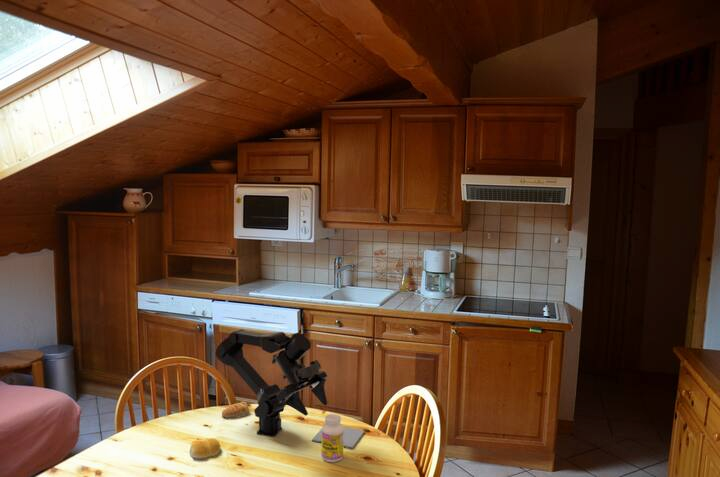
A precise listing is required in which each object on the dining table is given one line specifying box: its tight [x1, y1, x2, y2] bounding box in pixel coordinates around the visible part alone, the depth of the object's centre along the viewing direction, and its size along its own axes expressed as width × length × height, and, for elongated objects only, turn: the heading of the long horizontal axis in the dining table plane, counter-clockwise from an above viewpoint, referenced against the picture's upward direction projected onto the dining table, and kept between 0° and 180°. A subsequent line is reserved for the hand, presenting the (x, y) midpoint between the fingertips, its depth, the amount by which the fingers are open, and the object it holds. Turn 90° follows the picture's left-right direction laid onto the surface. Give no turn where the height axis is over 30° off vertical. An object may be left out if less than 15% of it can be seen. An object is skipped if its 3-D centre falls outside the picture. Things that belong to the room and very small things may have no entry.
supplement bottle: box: [320, 413, 345, 463], centre depth 157 cm, size 7×7×13 cm
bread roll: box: [188, 438, 221, 460], centre depth 160 cm, size 8×9×4 cm
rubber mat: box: [311, 426, 366, 450], centre depth 171 cm, size 14×12×1 cm
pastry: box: [221, 401, 250, 419], centre depth 187 cm, size 9×7×4 cm
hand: (316, 409), depth 160 cm, fingers open, 9 cm apart
